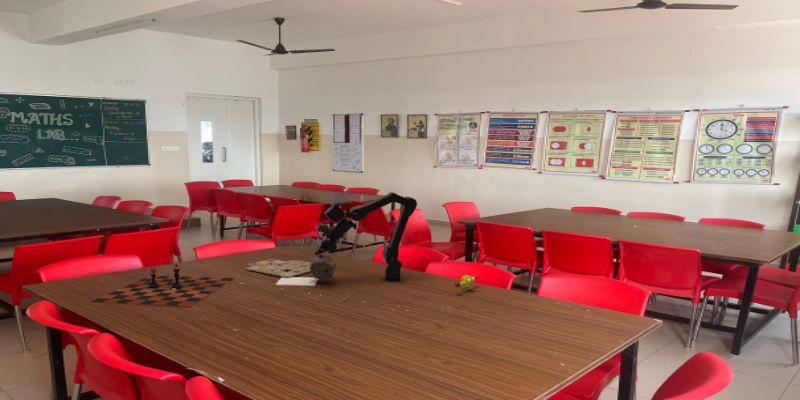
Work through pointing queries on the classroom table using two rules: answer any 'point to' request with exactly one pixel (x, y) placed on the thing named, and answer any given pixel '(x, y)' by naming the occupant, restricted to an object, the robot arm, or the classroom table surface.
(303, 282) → the white sheet of paper
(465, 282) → the toy figure
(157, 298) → the chessboard
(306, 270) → the alphabet tiles
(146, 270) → the classroom table surface
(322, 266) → the alarm clock
